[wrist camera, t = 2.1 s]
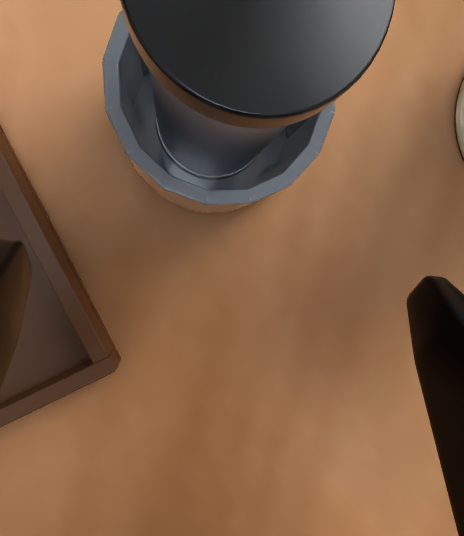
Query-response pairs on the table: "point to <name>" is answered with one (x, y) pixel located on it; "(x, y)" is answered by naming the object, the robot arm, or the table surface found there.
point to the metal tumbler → (247, 69)
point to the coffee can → (460, 118)
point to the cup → (161, 166)
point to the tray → (47, 307)
